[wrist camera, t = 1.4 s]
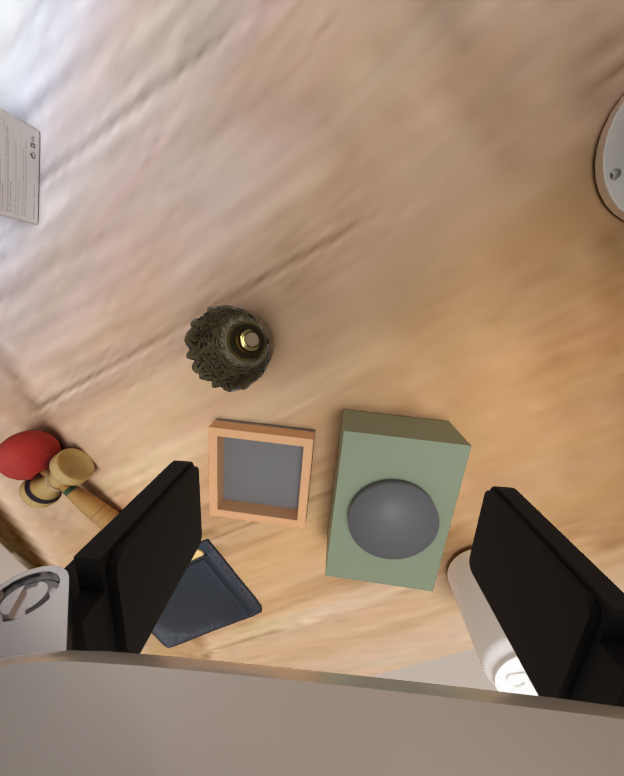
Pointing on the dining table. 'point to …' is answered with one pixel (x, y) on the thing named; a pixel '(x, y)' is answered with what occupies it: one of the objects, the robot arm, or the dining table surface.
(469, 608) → the beverage can
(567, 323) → the dining table surface
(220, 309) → the dark bronze domed piece
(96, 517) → the kendama
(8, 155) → the supplement box
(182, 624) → the wallet
